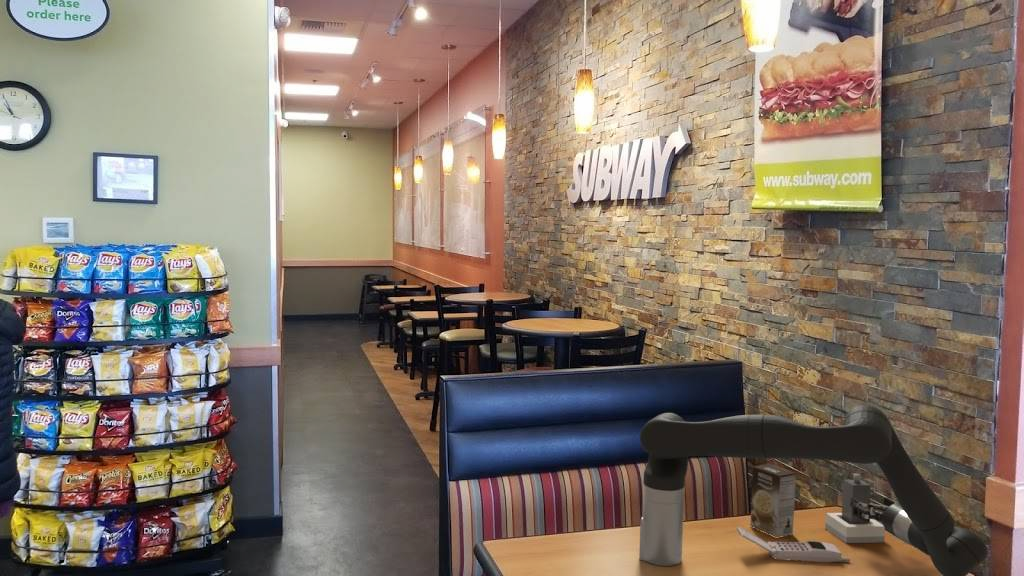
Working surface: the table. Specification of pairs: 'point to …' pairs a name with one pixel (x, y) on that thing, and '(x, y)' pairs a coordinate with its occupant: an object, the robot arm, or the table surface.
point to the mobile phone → (798, 549)
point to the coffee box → (773, 499)
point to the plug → (857, 491)
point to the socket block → (854, 530)
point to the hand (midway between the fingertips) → (868, 501)
